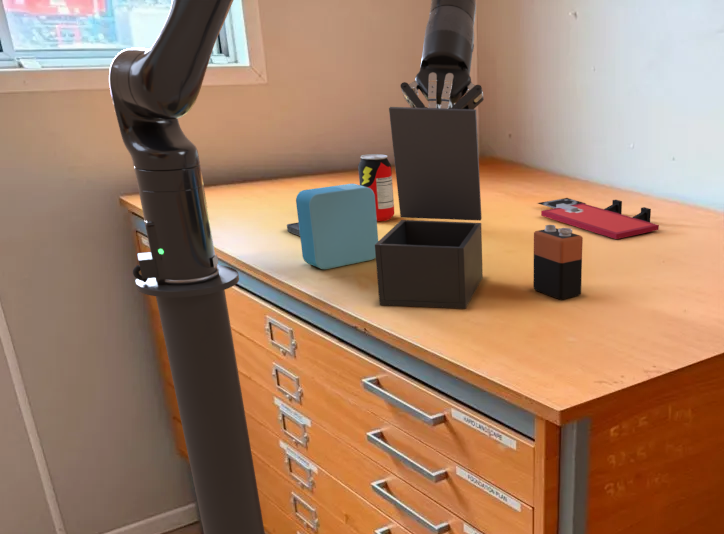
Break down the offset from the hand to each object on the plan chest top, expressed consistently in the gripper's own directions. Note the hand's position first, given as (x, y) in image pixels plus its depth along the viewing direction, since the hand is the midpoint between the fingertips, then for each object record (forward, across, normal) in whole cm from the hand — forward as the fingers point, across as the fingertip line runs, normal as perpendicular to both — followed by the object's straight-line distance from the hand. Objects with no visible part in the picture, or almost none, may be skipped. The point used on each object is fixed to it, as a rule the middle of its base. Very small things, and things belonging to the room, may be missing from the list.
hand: (435, 141), depth 129 cm
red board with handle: (-17, +22, +47) cm, 54 cm away
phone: (-2, -27, +32) cm, 41 cm away
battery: (+19, +19, +11) cm, 29 cm away
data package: (+10, -18, +20) cm, 29 cm away
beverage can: (-13, -20, +42) cm, 49 cm away
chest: (+20, 0, +10) cm, 22 cm away
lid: (+3, 0, +2) cm, 4 cm away
